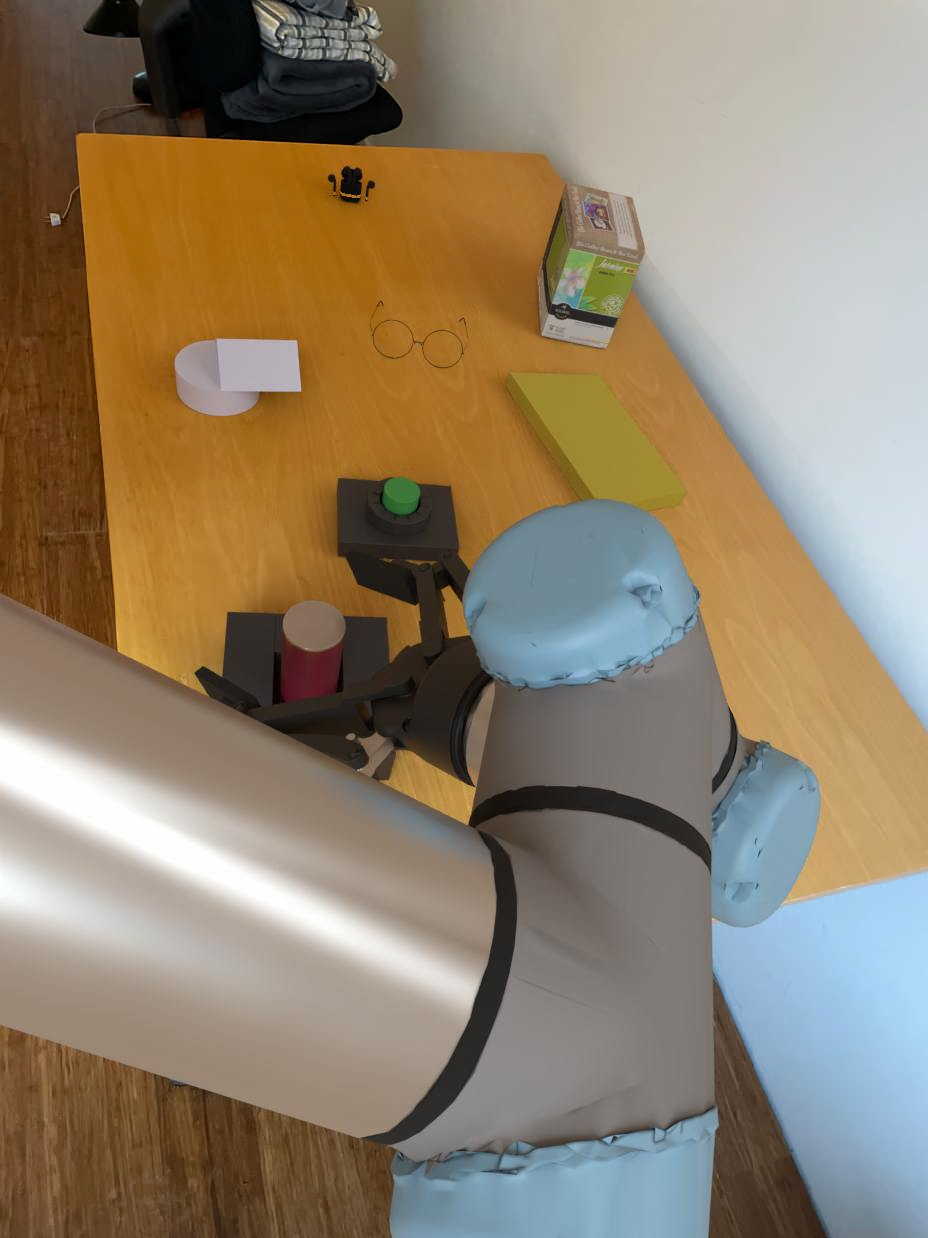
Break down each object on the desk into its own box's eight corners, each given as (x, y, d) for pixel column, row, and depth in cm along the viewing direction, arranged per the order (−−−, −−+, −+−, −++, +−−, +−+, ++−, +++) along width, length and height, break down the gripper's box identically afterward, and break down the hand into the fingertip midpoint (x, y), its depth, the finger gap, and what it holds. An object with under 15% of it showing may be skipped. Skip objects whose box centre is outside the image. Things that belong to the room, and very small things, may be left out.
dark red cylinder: (278, 732, 68) (281, 649, 59) (279, 685, 71) (283, 598, 61) (333, 732, 69) (346, 650, 60) (333, 686, 72) (345, 601, 62)
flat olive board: (680, 504, 96) (585, 377, 108) (687, 491, 95) (590, 363, 107) (594, 521, 92) (505, 386, 104) (600, 507, 90) (509, 372, 102)
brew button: (383, 514, 81) (385, 501, 79) (381, 488, 83) (383, 475, 81) (418, 516, 81) (421, 503, 80) (416, 490, 84) (418, 478, 82)
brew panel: (337, 556, 81) (341, 529, 78) (336, 492, 86) (339, 464, 83) (455, 562, 84) (463, 536, 81) (447, 500, 89) (454, 473, 86)
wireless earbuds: (326, 200, 123) (328, 165, 119) (326, 191, 124) (329, 157, 121) (372, 207, 124) (376, 173, 121) (372, 199, 126) (376, 165, 122)
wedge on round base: (289, 365, 97) (174, 364, 93) (291, 316, 92) (170, 312, 88) (299, 415, 92) (179, 416, 88) (302, 365, 87) (174, 364, 83)
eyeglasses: (375, 303, 109) (379, 268, 105) (467, 323, 111) (475, 289, 107) (364, 353, 102) (369, 317, 98) (463, 373, 104) (471, 338, 100)
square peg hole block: (217, 782, 64) (215, 755, 61) (228, 642, 72) (227, 611, 69) (388, 780, 67) (396, 755, 64) (381, 646, 76) (387, 616, 72)
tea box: (608, 351, 113) (648, 249, 102) (538, 337, 112) (571, 233, 100) (599, 292, 123) (634, 193, 111) (534, 279, 121) (563, 178, 110)
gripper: (365, 947, 39) (165, 779, 54) (649, 635, 51) (422, 564, 65) (303, 855, 35) (103, 699, 49) (629, 536, 47) (391, 484, 61)
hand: (285, 622), depth 57 cm, fingers open, 13 cm apart
